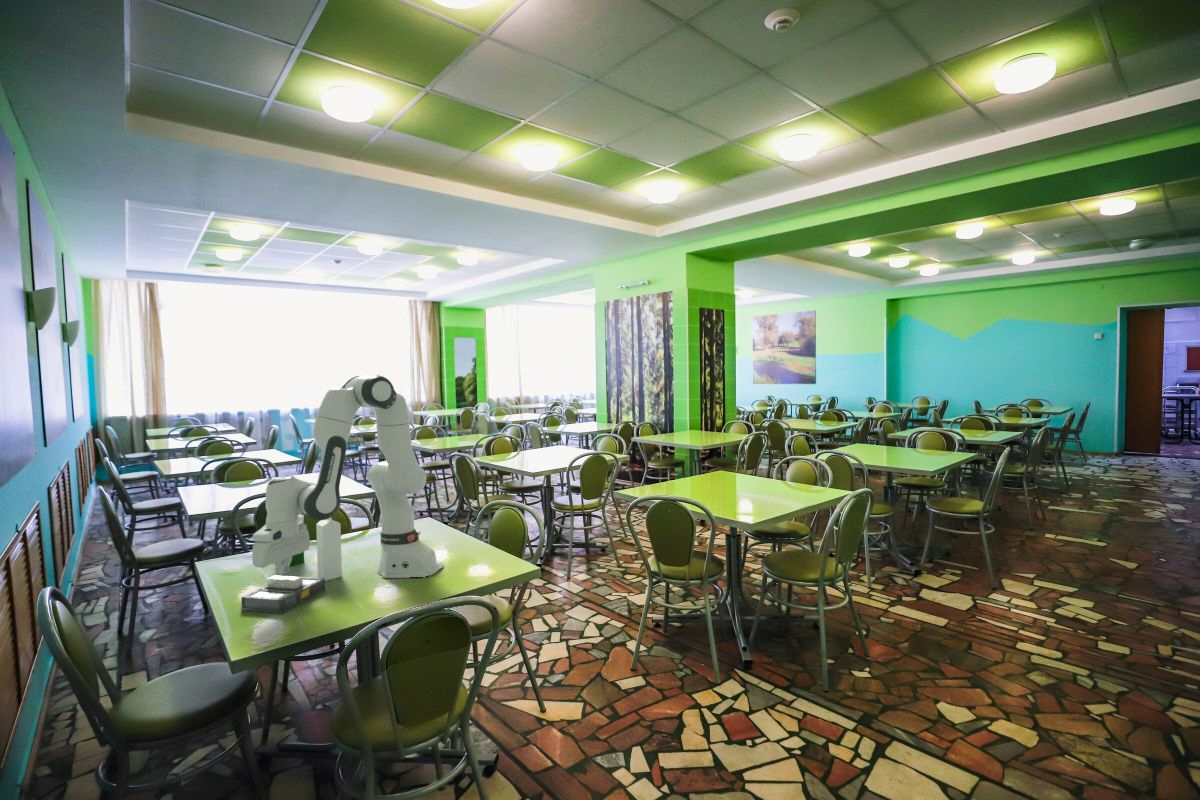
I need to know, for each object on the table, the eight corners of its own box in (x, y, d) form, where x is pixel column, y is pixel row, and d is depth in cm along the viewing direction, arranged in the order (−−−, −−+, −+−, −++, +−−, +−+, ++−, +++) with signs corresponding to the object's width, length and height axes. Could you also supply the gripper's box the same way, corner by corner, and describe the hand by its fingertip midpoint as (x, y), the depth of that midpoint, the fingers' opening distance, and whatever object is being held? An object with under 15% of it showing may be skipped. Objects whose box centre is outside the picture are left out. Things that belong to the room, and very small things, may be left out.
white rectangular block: (302, 595, 177) (302, 577, 177) (296, 599, 174) (295, 580, 174) (275, 594, 179) (274, 575, 179) (267, 597, 176) (267, 578, 176)
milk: (335, 572, 202) (333, 511, 201) (342, 576, 197) (340, 514, 197) (317, 577, 197) (315, 514, 197) (324, 581, 193) (322, 517, 192)
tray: (326, 590, 185) (326, 578, 185) (282, 614, 166) (282, 600, 166) (287, 587, 188) (287, 575, 188) (240, 610, 169) (239, 597, 169)
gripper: (297, 520, 187) (298, 561, 187) (247, 536, 167) (248, 583, 167) (314, 521, 186) (315, 563, 186) (266, 537, 165) (267, 584, 166)
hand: (283, 572), depth 176 cm, fingers closed
